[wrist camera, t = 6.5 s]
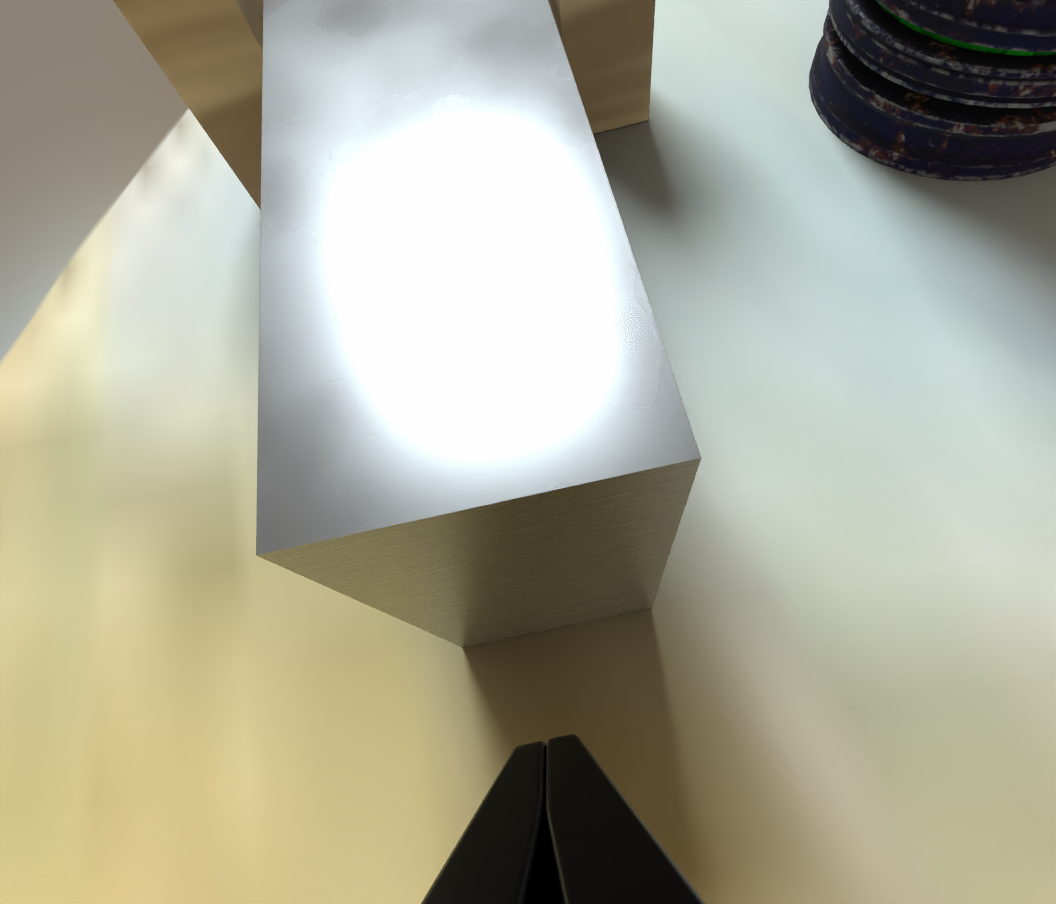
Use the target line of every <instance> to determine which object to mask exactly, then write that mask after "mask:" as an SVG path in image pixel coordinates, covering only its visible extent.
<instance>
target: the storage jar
mask: <svg viewBox="0 0 1056 904" xmlns="http://www.w3.org/2000/svg"><path fill="white" fill-rule="evenodd" d="M809 89H810V94H811V99H812V102H813V104H814V106H815V108H816V110H817V113H818V115H819V116H820V117H821V119H822V120H823V121H824V123H825V124H826V125H827V127H828V128H829V129H830V130H831V131H832V132H833V133H834V134H835V135H836V136H837V137H838V138H840V139H841V140H842V141H843V142H845V143H846V144H847V145H849V146H850V147H852V148H853V149H855V150H856V151H857V152H859V153H861V154H863V155H865V156H867V157H869V158H871V159H873V160H875V161H877V162H879V163H882V164H884V165H887V166H890V167H892V168H895V169H898V170H901V171H905V172H909V173H913V174H917V175H921V176H926V177H932V178H939V179H946V180H965V181H981V180H996V179H1005V178H1010V177H1016V176H1022V175H1027V174H1030V173H1033V172H1036V171H1040V170H1043V169H1046V168H1049V167H1051V166H1053V165H1056V0H829V9H828V13H827V16H826V19H825V23H824V29H823V37H822V38H821V40H820V42H819V44H818V46H817V49H816V53H815V56H814V59H813V63H812V66H811V69H810V74H809Z"/></svg>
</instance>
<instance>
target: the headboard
mask: <svg viewBox="0 0 1056 904" xmlns="http://www.w3.org/2000/svg"><path fill="white" fill-rule="evenodd" d="M113 1H114V2H115V3H116V5H117V6H118V8H119V9H120V11H121V12H122V13H123V15H124V16H125V18H126V19H127V21H128V22H129V23H130V25H131V26H132V28H133V29H134V31H135V32H136V33H137V35H138V36H139V38H140V39H141V40H142V42H143V43H144V45H145V46H146V48H147V49H148V50H149V52H150V53H151V55H152V56H153V58H154V59H155V60H156V62H157V63H158V65H159V66H160V67H161V69H162V70H163V72H164V73H165V75H166V76H167V77H168V79H169V80H170V82H171V83H172V85H173V86H174V87H175V89H176V90H177V92H178V93H179V95H180V96H181V97H182V99H183V100H184V102H185V103H186V104H187V106H188V107H189V109H190V110H191V112H192V113H193V114H194V116H195V117H196V119H197V120H198V122H199V123H200V124H201V126H202V127H203V129H204V130H205V132H206V133H207V134H208V136H209V137H210V139H211V140H212V141H213V143H214V144H215V146H216V147H217V149H218V150H219V151H220V153H221V154H222V156H223V157H224V159H225V160H226V161H227V163H228V164H229V166H230V167H231V169H232V170H233V171H234V173H235V174H236V176H237V177H238V178H239V180H240V181H241V183H242V184H243V186H244V187H245V188H246V190H247V191H248V193H249V194H250V196H251V197H252V198H253V200H254V201H255V203H256V204H257V206H258V207H259V208H260V210H261V153H262V76H263V0H113ZM548 2H549V5H550V8H551V11H552V14H553V17H554V20H555V23H556V26H557V29H558V32H559V35H560V38H561V41H562V44H563V47H564V50H565V53H566V56H567V59H568V62H569V65H570V68H571V71H572V74H573V77H574V80H575V83H576V86H577V89H578V92H579V95H580V98H581V101H582V103H583V106H584V109H585V112H586V115H587V118H588V121H589V124H590V127H591V130H592V133H593V134H596V133H600V132H604V131H608V130H612V129H615V128H619V127H623V126H627V125H631V124H635V123H639V122H643V121H647V120H649V104H650V85H651V67H652V49H653V30H654V12H655V0H548Z"/></svg>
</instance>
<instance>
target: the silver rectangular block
mask: <svg viewBox="0 0 1056 904" xmlns="http://www.w3.org/2000/svg"><path fill="white" fill-rule="evenodd" d="M700 460H701V456H700V453H699V450H698V447H697V444H696V441H695V438H694V435H693V432H692V429H691V426H690V423H689V420H688V417H687V414H686V411H685V408H684V405H683V402H682V399H681V396H680V393H679V390H678V387H677V384H676V381H675V378H674V375H673V372H672V369H671V366H670V363H669V360H668V357H667V354H666V351H665V348H664V345H663V343H662V340H661V337H660V334H659V331H658V328H657V325H656V322H655V319H654V316H653V313H652V310H651V307H650V304H649V301H648V298H647V295H646V292H645V289H644V286H643V283H642V280H641V277H640V274H639V271H638V268H637V265H636V262H635V259H634V256H633V253H632V250H631V247H630V244H629V241H628V238H627V235H626V232H625V229H624V226H623V223H622V220H621V217H620V214H619V211H618V208H617V205H616V202H615V199H614V196H613V193H612V190H611V187H610V184H609V181H608V178H607V175H606V172H605V169H604V166H603V163H602V160H601V157H600V154H599V151H598V148H597V145H596V142H595V139H594V136H593V133H592V130H591V127H590V124H589V121H588V118H587V115H586V112H585V109H584V106H583V103H582V101H581V98H580V95H579V92H578V89H577V86H576V83H575V80H574V77H573V74H572V71H571V68H570V65H569V62H568V59H567V56H566V53H565V50H564V47H563V44H562V41H561V38H560V35H559V32H558V29H557V26H556V23H555V20H554V17H553V14H552V11H551V8H550V5H549V2H548V0H263V76H262V153H261V229H260V306H259V383H258V459H257V536H256V555H257V556H259V557H261V558H263V559H266V560H268V561H270V562H272V563H275V564H277V565H279V566H281V567H284V568H286V569H288V570H290V571H293V572H295V573H297V574H299V575H302V576H304V577H306V578H308V579H311V580H313V581H315V582H317V583H320V584H322V585H324V586H326V587H328V588H331V589H333V590H335V591H337V592H340V593H342V594H344V595H346V596H349V597H351V598H353V599H355V600H358V601H360V602H362V603H364V604H367V605H369V606H371V607H373V608H376V609H378V610H380V611H382V612H385V613H387V614H389V615H391V616H394V617H396V618H398V619H400V620H403V621H405V622H407V623H409V624H411V625H414V626H416V627H418V628H420V629H423V630H425V631H427V632H429V633H432V634H434V635H436V636H438V637H441V638H443V639H445V640H447V641H450V642H452V643H454V644H456V645H459V646H461V647H466V646H471V645H476V644H480V643H485V642H490V641H495V640H500V639H504V638H509V637H514V636H519V635H524V634H529V633H533V632H538V631H543V630H548V629H553V628H557V627H562V626H567V625H572V624H577V623H581V622H586V621H591V620H596V619H601V618H605V617H610V616H615V615H620V614H625V613H629V612H634V611H639V610H644V609H649V608H651V607H652V604H653V601H654V598H655V595H656V592H657V589H658V586H659V583H660V580H661V577H662V574H663V571H664V568H665V565H666V562H667V559H668V556H669V553H670V550H671V547H672V544H673V541H674V538H675V535H676V532H677V529H678V526H679V523H680V520H681V517H682V514H683V511H684V508H685V505H686V502H687V499H688V496H689V493H690V490H691V487H692V484H693V481H694V478H695V475H696V472H697V469H698V466H699V463H700Z"/></svg>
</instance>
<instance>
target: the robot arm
mask: <svg viewBox="0 0 1056 904" xmlns="http://www.w3.org/2000/svg"><path fill="white" fill-rule="evenodd" d="M421 904H706V903H705V902H704V901H703V899H702V898H701V897H700V895H699V894H698V893H697V892H696V890H695V889H694V888H693V886H692V885H691V884H690V882H689V881H688V880H687V878H686V877H685V876H684V875H683V873H682V872H681V871H680V869H679V868H678V867H677V865H676V864H675V863H674V861H673V860H672V859H671V858H670V856H669V855H668V854H667V852H666V851H665V850H664V848H663V847H662V846H661V844H660V843H659V842H658V841H657V839H656V838H655V837H654V835H653V834H652V833H651V831H650V830H649V829H648V827H647V826H646V825H645V824H644V822H643V821H642V820H641V818H640V817H639V816H638V814H637V813H636V812H635V810H634V809H633V808H632V807H631V805H630V804H629V803H628V801H627V800H626V799H625V797H624V796H623V795H622V793H621V792H620V791H619V790H618V788H617V787H616V786H615V784H614V783H613V782H612V780H611V779H610V778H609V776H608V775H607V774H606V773H605V771H604V770H603V769H602V767H601V766H600V765H599V763H598V762H597V761H596V759H595V758H594V757H593V756H592V754H591V753H590V752H589V750H588V749H587V748H586V746H585V745H584V744H583V742H582V741H581V740H580V739H579V737H578V736H576V735H575V734H570V735H566V736H561V737H557V738H552V739H550V740H549V741H548V742H547V744H545V743H544V742H542V741H539V742H534V743H530V744H526V745H521V746H518V747H516V748H515V749H514V750H513V751H512V753H511V755H510V756H509V758H508V760H507V761H506V763H505V765H504V766H503V768H502V770H501V771H500V773H499V775H498V776H497V778H496V780H495V781H494V783H493V785H492V786H491V788H490V790H489V791H488V793H487V795H486V796H485V798H484V800H483V801H482V803H481V805H480V806H479V808H478V810H477V811H476V813H475V815H474V816H473V818H472V820H471V821H470V823H469V825H468V826H467V828H466V830H465V831H464V833H463V835H462V836H461V838H460V840H459V841H458V843H457V845H456V846H455V848H454V850H453V851H452V853H451V855H450V856H449V858H448V860H447V861H446V863H445V865H444V866H443V868H442V870H441V871H440V873H439V875H438V876H437V878H436V880H435V881H434V883H433V885H432V886H431V888H430V890H429V891H428V893H427V895H426V896H425V898H424V900H423V901H422V903H421Z"/></svg>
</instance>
